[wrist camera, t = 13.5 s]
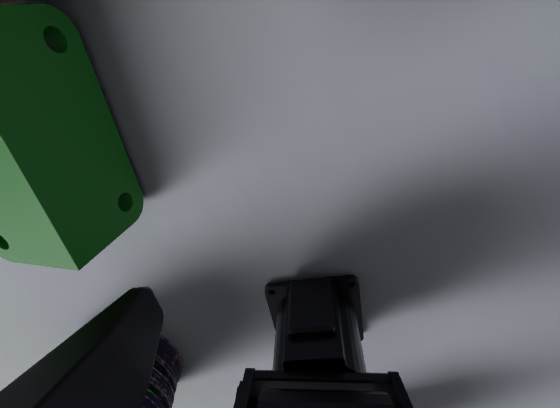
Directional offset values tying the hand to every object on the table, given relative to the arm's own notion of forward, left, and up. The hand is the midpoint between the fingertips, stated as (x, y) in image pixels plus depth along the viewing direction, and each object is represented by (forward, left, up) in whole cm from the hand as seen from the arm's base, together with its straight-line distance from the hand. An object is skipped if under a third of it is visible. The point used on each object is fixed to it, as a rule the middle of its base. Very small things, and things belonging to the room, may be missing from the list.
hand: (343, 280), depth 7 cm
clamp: (+2, +14, -12) cm, 19 cm away
